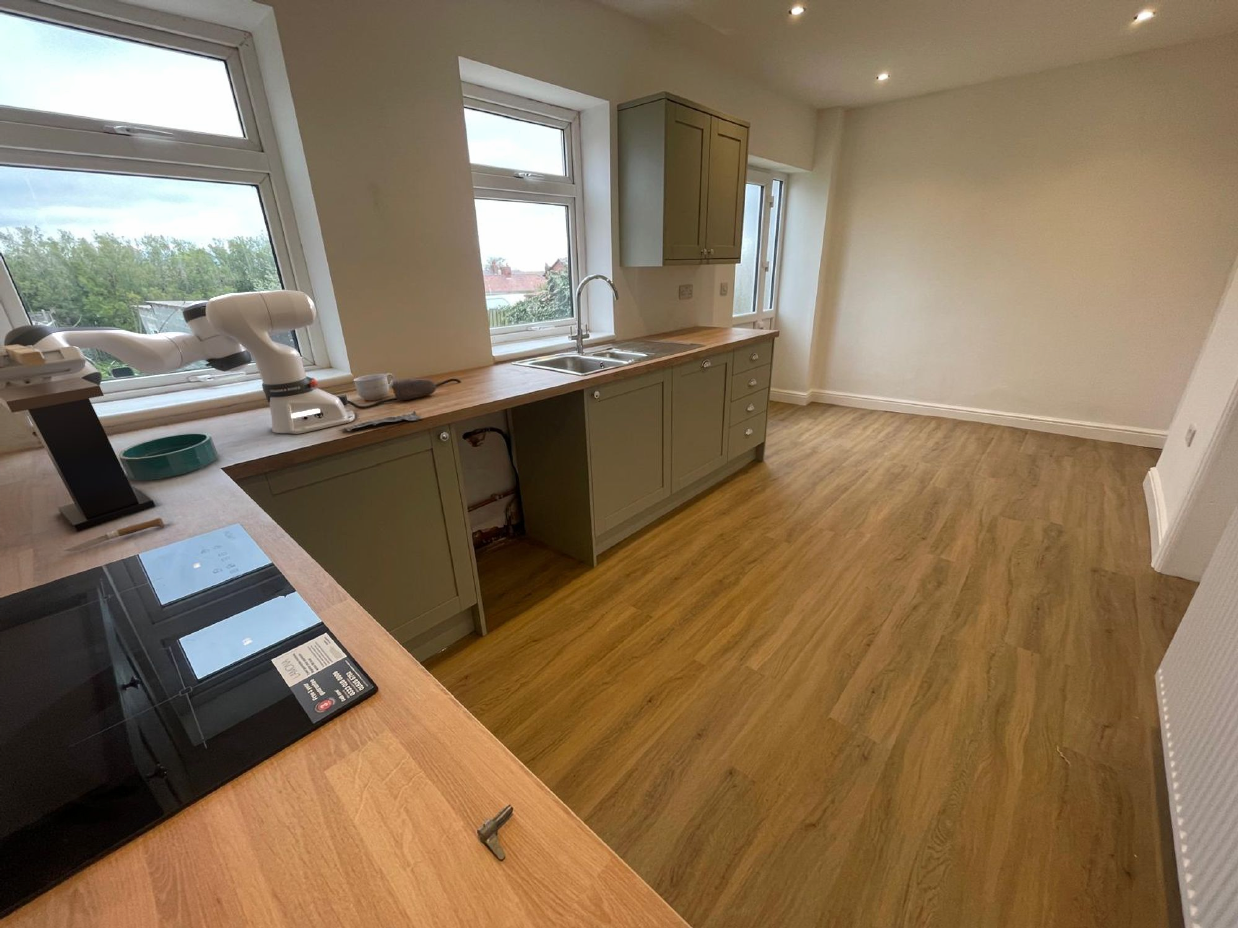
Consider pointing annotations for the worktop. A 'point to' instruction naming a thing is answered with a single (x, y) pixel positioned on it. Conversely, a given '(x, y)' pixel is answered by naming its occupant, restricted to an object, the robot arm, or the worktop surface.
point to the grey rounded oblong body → (413, 388)
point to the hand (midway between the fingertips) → (15, 350)
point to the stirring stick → (24, 355)
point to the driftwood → (386, 420)
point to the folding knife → (118, 534)
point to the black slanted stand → (78, 450)
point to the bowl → (168, 456)
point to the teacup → (373, 386)
